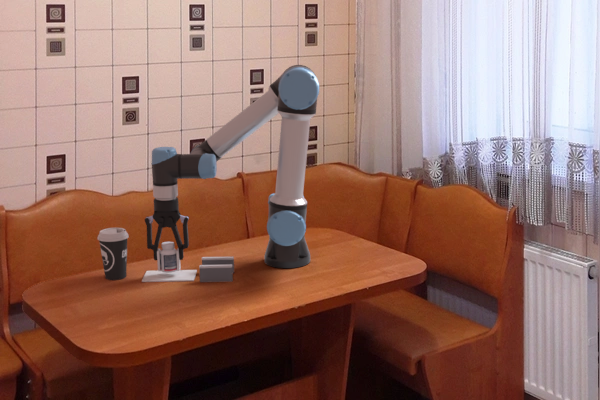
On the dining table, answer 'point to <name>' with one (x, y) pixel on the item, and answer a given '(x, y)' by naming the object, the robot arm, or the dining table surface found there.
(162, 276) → the mat
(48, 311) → the dining table surface
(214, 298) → the dining table surface
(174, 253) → the pill bottle
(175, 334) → the dining table surface
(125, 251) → the coffee cup
